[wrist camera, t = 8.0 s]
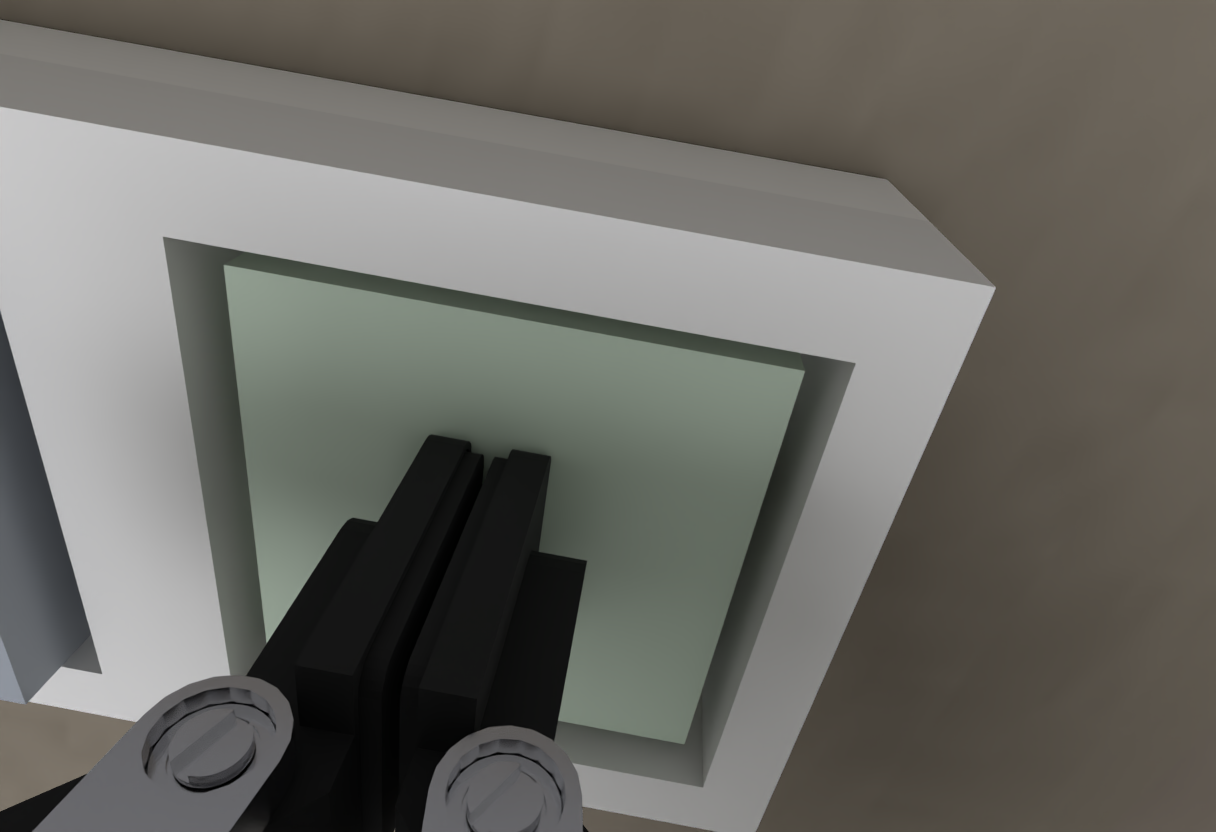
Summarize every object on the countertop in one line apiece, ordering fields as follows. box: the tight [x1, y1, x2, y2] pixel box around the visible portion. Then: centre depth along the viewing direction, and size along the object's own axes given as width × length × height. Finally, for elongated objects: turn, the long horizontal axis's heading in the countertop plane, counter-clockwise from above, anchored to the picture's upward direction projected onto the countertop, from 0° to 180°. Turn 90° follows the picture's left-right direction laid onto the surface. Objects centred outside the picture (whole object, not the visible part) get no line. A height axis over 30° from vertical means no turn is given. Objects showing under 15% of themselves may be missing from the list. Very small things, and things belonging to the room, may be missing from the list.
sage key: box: [224, 252, 805, 744], centre depth 11 cm, size 7×7×2 cm
